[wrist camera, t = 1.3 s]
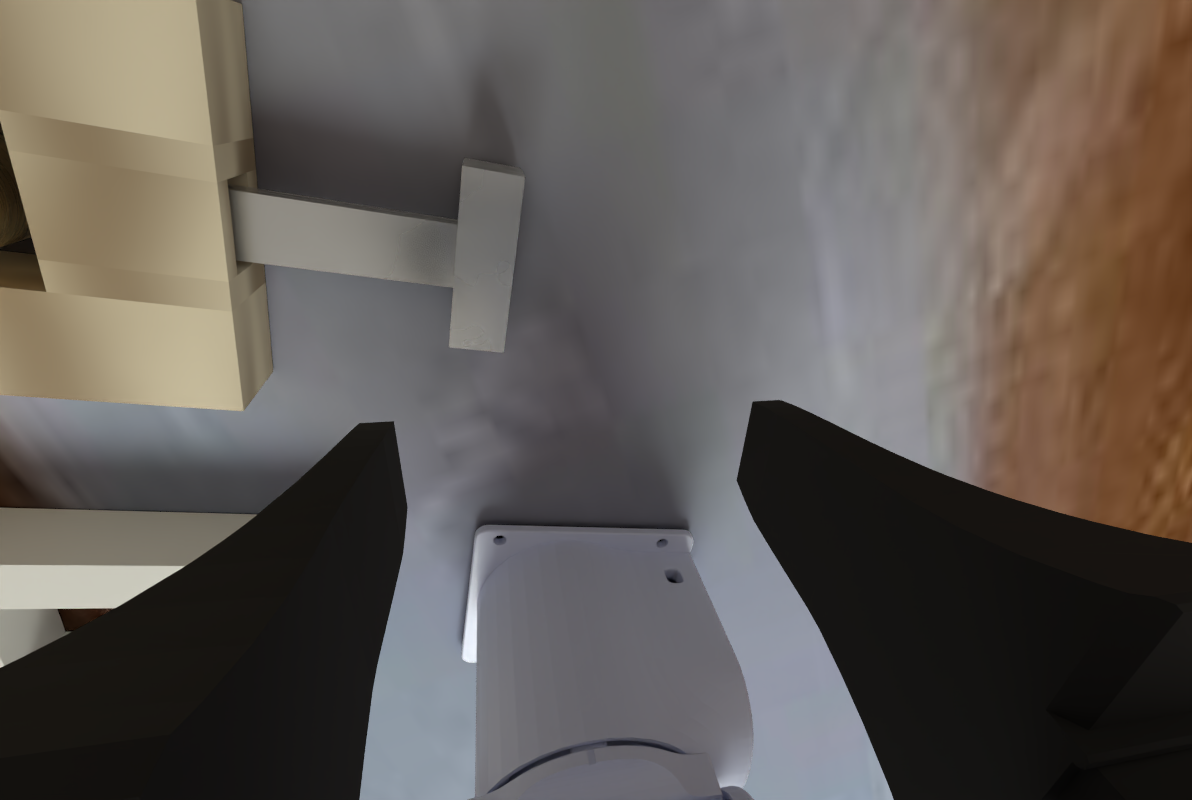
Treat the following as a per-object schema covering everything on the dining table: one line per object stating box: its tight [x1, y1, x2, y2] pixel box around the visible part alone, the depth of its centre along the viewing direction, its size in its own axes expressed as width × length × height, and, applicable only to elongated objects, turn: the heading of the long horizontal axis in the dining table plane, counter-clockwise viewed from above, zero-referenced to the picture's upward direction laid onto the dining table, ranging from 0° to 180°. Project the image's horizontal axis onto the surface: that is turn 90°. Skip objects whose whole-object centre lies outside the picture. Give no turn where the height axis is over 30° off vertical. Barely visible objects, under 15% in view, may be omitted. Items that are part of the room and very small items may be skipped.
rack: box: [0, 508, 257, 668], centre depth 20 cm, size 17×8×3 cm, turn 79°
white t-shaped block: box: [228, 158, 525, 353], centre depth 15 cm, size 8×5×2 cm, turn 79°
